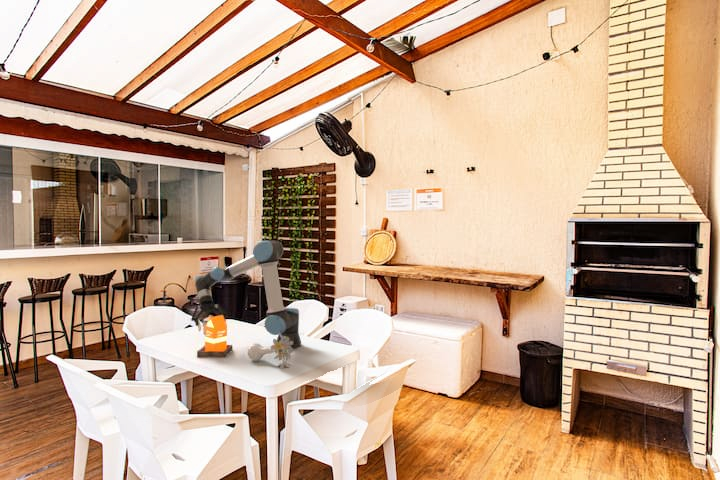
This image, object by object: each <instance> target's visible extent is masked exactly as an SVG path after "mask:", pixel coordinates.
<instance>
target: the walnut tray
mask: <svg viewBox="0 0 720 480" xmlns="http://www.w3.org/2000/svg"><path fill="white" fill-rule="evenodd" d="M232 351H233V344H227V349H226V350H225V351H205V345H204V346H202V347H201V348H200V349H198V350H197V352H196V354H197V355H196V357H197V358H226V357H227V356H228V355H229V354H230V353H231V352H232Z"/></svg>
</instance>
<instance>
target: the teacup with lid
mask: <svg viewBox="0 0 720 480" xmlns="http://www.w3.org/2000/svg"><path fill="white" fill-rule="evenodd" d="M210 317H213V315H210V314H209V315H208V317H206V318H204V319H203V320H202V327H203V331H202V332H203V334H204V335H205V326H206V324H207V323H208V321H209V319H210Z"/></svg>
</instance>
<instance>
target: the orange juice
mask: <svg viewBox="0 0 720 480" xmlns="http://www.w3.org/2000/svg"><path fill="white" fill-rule="evenodd" d="M225 319H226V318H225ZM225 319H224V317H223V315H220V316H218V315H216V316H212V317H210V319H209V321H208V323H207V324H206V326H205V334H204V336H205V337H204V346H205V351H225V350H226V349H227V345H228V344H227V343H228V342H227V341H228V325H227V321H226V322H225Z"/></svg>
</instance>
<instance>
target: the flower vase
mask: <svg viewBox="0 0 720 480" xmlns="http://www.w3.org/2000/svg"><path fill="white" fill-rule="evenodd" d="M278 335H280V337H281V340H280V341H279V342H277V338H276V339H275V338H273V340H272V342H273V343H272V344H273V345H270V346H269V347H264V346H263V345H261V344H260V343H253V344H251V346H250V347H249V348H248V349H247V356H248V358H249V359H250V360H252V362H259V361H261V360H262V359H263V358H264V356H265V355H268V354H272V353H273V354H276V355H275V356H274V358H273V359H275V360H276V359H278V361H282V362H281V363H279V364H277V365H276V367H279V369H284V368H285V367H286V368H291V364H290V363H288V360H289V359H292V357H293V356H292V353H293V352H294V351H295V350H294V348H293V349H292V347H291V346H290V345H292V344H293V343H294V342H293V341H290V342H289V337H286V336H283V337H282V335H281V334H280V333H279V334H278ZM283 340H285V341H284V343H283ZM282 359H283V360H282Z"/></svg>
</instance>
